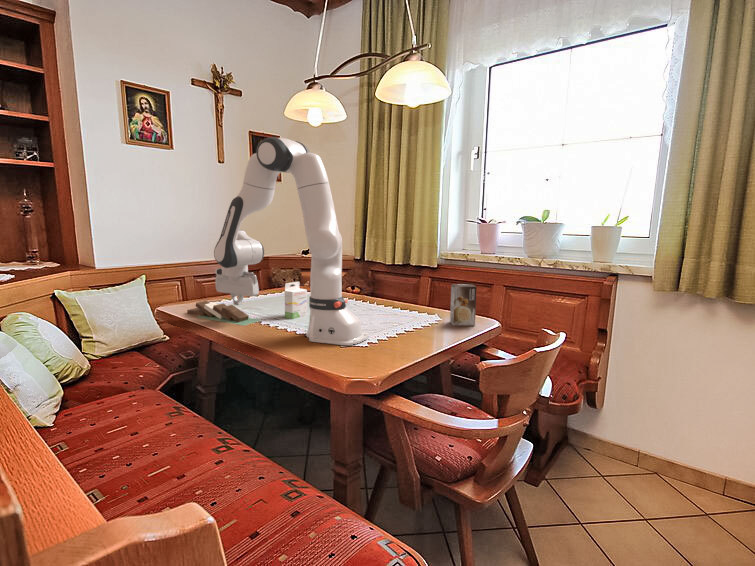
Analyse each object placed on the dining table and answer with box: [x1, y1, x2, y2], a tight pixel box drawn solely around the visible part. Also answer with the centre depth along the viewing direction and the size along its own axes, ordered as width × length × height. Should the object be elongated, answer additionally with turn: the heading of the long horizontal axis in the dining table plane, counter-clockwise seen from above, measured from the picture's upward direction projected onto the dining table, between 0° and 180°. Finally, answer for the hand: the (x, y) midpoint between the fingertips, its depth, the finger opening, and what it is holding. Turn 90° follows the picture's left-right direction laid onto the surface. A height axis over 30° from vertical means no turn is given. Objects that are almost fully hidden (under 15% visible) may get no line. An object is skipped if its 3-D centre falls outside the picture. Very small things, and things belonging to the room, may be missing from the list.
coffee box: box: [449, 283, 478, 326], centre depth 162 cm, size 9×6×16 cm
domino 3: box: [213, 303, 234, 321], centre depth 164 cm, size 2×5×10 cm
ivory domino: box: [204, 302, 225, 319], centre depth 166 cm, size 2×5×10 cm
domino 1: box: [186, 307, 207, 316], centre depth 171 cm, size 2×5×10 cm
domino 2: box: [195, 300, 216, 318], centre depth 169 cm, size 2×5×10 cm
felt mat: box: [197, 315, 262, 327], centre depth 164 cm, size 27×10×1 cm, turn 63°
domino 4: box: [221, 304, 250, 322], centre depth 162 cm, size 2×5×10 cm
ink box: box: [284, 281, 308, 320], centre depth 169 cm, size 9×5×15 cm, turn 143°
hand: (237, 304), depth 161 cm, fingers closed
